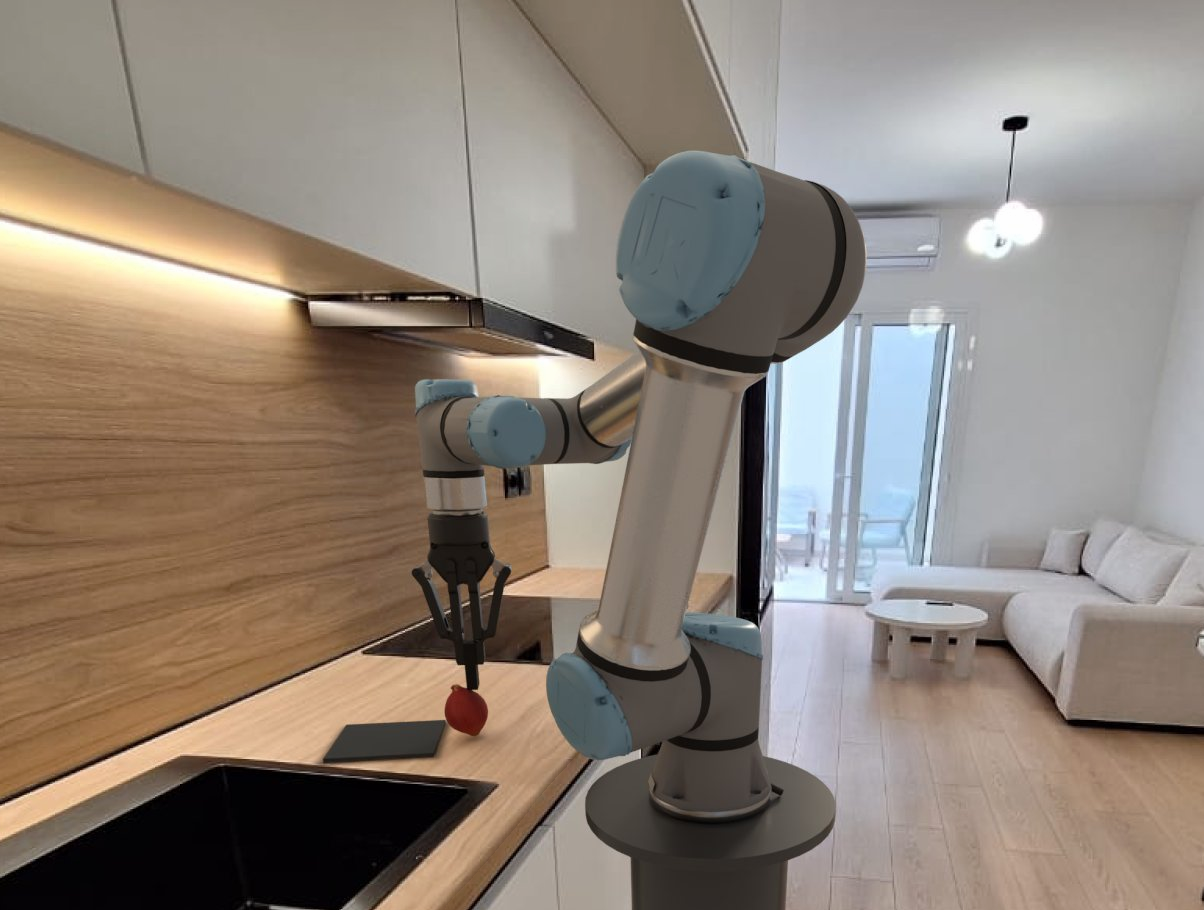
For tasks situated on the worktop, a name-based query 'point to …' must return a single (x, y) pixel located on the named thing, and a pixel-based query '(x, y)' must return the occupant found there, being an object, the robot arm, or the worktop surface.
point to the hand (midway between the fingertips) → (473, 686)
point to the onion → (466, 710)
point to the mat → (386, 741)
